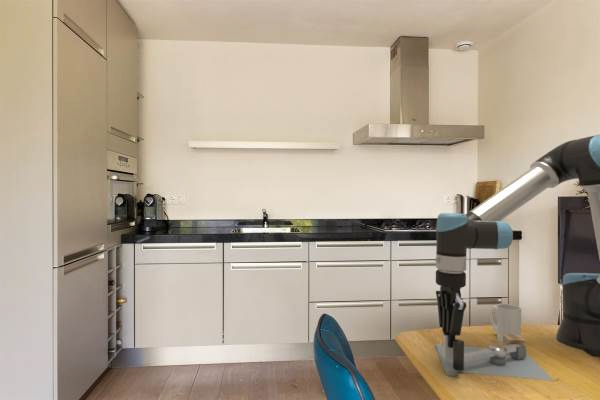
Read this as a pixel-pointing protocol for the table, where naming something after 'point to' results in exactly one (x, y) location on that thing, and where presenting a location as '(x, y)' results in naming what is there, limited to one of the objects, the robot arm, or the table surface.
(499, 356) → the lever
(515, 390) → the table surface
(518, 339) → the block
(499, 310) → the mug
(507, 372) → the base
